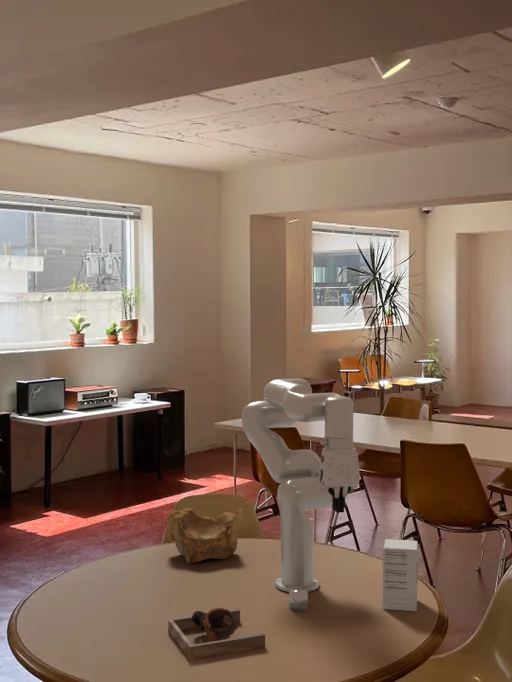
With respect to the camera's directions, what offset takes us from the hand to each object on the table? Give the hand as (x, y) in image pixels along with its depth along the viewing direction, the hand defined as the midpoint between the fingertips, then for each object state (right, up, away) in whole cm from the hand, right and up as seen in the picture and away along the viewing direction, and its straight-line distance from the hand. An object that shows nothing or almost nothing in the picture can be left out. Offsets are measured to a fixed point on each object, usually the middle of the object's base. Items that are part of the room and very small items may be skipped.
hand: (338, 511), depth 224 cm
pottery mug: (-32, -28, -15) cm, 46 cm away
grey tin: (-11, -27, +4) cm, 29 cm away
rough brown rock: (-40, -25, +47) cm, 66 cm away
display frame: (-32, -28, -17) cm, 45 cm away
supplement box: (+17, -27, +6) cm, 33 cm away
